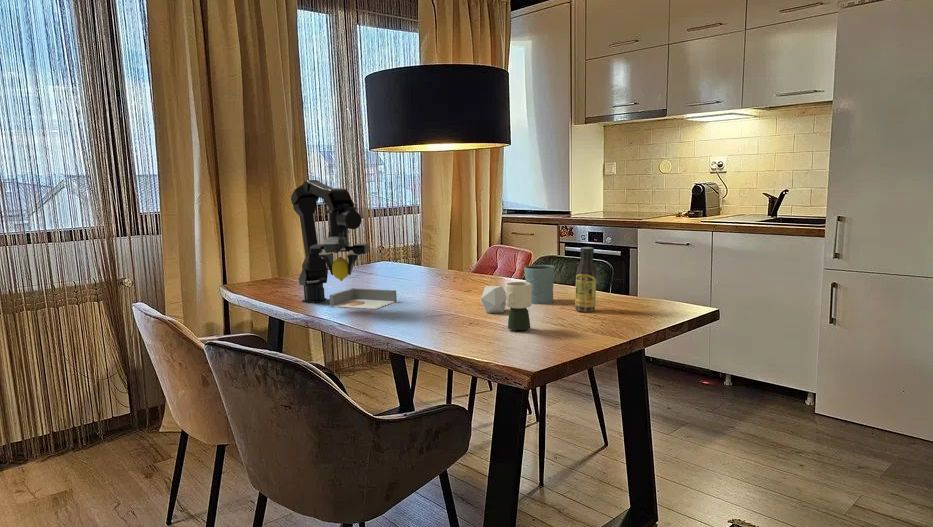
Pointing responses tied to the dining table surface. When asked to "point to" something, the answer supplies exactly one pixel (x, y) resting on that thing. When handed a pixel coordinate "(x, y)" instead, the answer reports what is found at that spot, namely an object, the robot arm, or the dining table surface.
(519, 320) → the character mug
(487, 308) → the die
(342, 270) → the lemon
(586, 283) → the sauce bottle
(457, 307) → the dining table surface
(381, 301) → the arena
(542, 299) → the blue grey cup
